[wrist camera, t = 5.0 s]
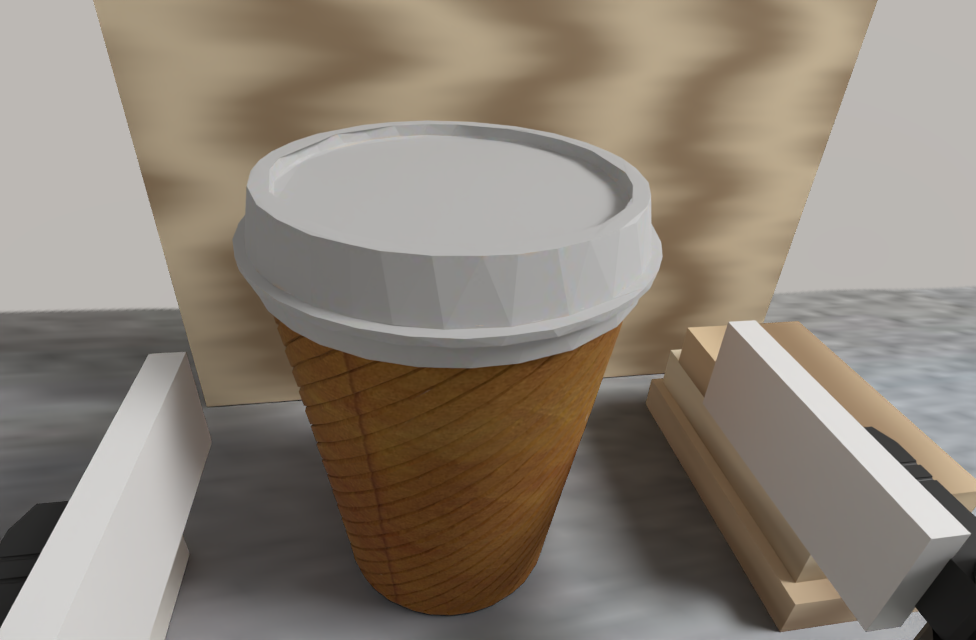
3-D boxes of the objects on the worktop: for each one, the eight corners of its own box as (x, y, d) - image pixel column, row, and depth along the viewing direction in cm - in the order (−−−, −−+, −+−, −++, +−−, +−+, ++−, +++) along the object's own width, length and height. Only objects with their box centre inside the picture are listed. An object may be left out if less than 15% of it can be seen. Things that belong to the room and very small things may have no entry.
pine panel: (197, 411, 23) (39, -129, 14) (208, 380, 25) (74, -122, 16) (756, 369, 27) (917, -71, 18) (734, 345, 29) (871, -70, 20)
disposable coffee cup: (472, 395, 25) (484, 103, 19) (653, 548, 19) (765, 193, 12) (250, 503, 20) (159, 147, 13) (403, 763, 14) (372, 341, 7)
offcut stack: (777, 636, 17) (838, 529, 14) (644, 408, 25) (667, 314, 23) (941, 611, 18) (1026, 505, 15) (760, 399, 26) (795, 307, 24)
